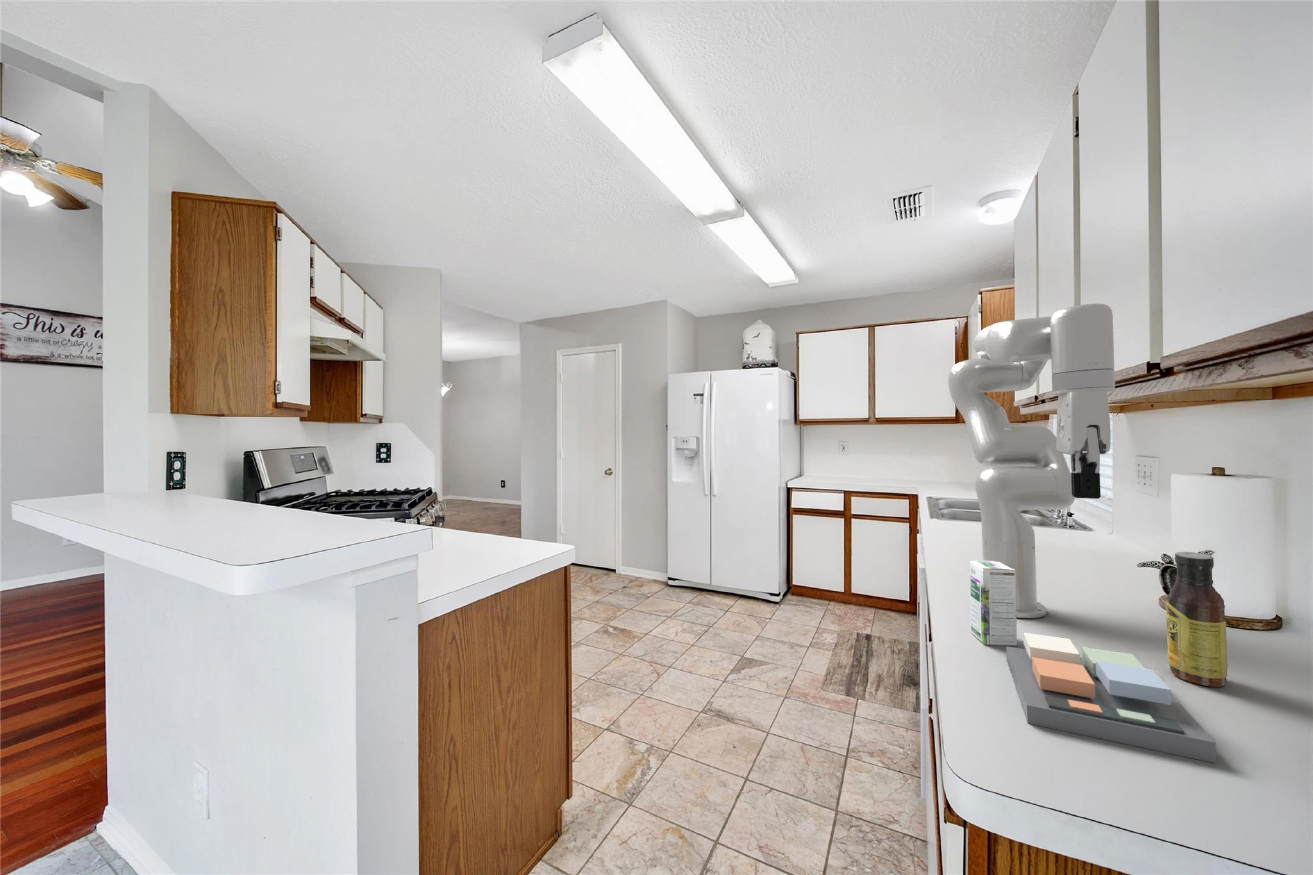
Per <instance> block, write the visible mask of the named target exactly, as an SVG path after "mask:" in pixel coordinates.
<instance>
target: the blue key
mask: <svg viewBox="0 0 1313 875" xmlns="http://www.w3.org/2000/svg"><path fill="white" fill-rule="evenodd" d="M1147 668H1148V667H1144V668H1140V667H1134V666H1127V665H1121V664H1114V663H1108V662H1101V661H1096V675H1097V676H1098V678H1099V679H1100V681H1101V682H1102V684H1103V685H1104V687H1105V688H1106V690H1107V691H1108V692H1109V694H1112V695H1117V696H1123V697H1129V698H1134V699H1140V700H1145V701H1151V702H1157V703H1162V704H1168V705H1171V694H1172V690H1171V689H1170V687H1169V686H1168V685H1167V684H1166V683H1165V682H1164V681H1163V680H1162V679H1161V677H1160V676H1159V675H1158V674H1157V673H1156V672H1155V671H1154V670H1153V669H1152V668H1149V669H1147Z"/></svg>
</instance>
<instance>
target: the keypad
mask: <svg viewBox="0 0 1313 875" xmlns="http://www.w3.org/2000/svg"><path fill="white" fill-rule="evenodd" d="M1005 646H1006V648H1005V649H1006V650H1005V651H1006V652H1005V653H1006V663H1007V666H1008V669H1009V672H1010V674H1011V677H1012V680H1013V684H1014V687H1015V689H1016V693H1017V695H1018V698H1019V703H1020V704H1021V707H1022V710H1023V713H1024V714H1023V715H1024V716H1025V720H1026V722H1027V724H1031V725H1035V726H1040V727H1045V728H1048V729H1049V728H1050V729H1054V730H1058V731H1062V732H1063V731H1064V732H1067V733H1073V734H1078V735H1081V736H1087V737H1092V738H1095V739H1096V738H1097V739H1100V738H1101V740H1105V741H1110V742H1115V743H1120V744H1124V745H1129V746H1133V747H1139V748H1141V749H1142V748H1143V747H1144V748H1143V749H1148V750H1151V749H1152V750H1153V751H1156V752H1160V753H1161V752H1162V753H1167V754H1170V755H1176V756H1181V757H1185V758H1189V759H1195V760H1200V761H1204V762H1209V763H1212V764H1216V763H1217V759H1216V758H1217V752H1216V749H1217V747H1216V742H1215V740H1214V739H1213V738H1212V737H1211V736H1210V734H1208V732H1207V731H1206V730H1205V729H1204V728H1203V727H1202V726H1201V725H1200V723H1199V722H1197V720H1196V719H1195V718H1194V717H1193V716H1192V715H1191V713H1189V712H1188V710H1187V709H1186V708H1185V707H1184V706H1183V704H1182V703H1180V701H1179V700H1178V699H1177V698H1176V697H1175V696H1174V695H1173V694H1172V693H1171V705H1168V704H1162V703H1157V702H1151V701H1145V700H1140V699H1134V698H1129V697H1123V696H1117V695H1112V694H1109V692H1108V691H1107V690H1106V688H1105V687H1104V685H1103V684H1102V682H1101V681H1100V679H1099V678H1098V677H1095V676H1093V675H1092V674H1091V672H1090V670H1089V669H1088V667H1087V666H1086V664H1085V663H1084V661H1083V660H1082V657H1080V665H1083V667H1084V668H1085V670H1086V671H1087V673H1088V674H1089V676H1090V678H1091V679H1092V681H1093V682H1094V684H1095V699H1094V698H1089V697H1083V696H1078V695H1072V694H1067V693H1062V692H1056V691H1051V690H1045V689H1040V687H1039V684H1038V682H1037V679H1036V677H1035V675H1034V672H1033V670H1032V660H1030V657H1029V655H1028V653H1027V650H1026V648H1021V647H1020V648H1018V647H1013V646H1008V645H1005ZM1146 668H1147V669H1150V668H1149V667H1146Z"/></svg>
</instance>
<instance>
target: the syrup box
mask: <svg viewBox="0 0 1313 875" xmlns="http://www.w3.org/2000/svg"><path fill="white" fill-rule="evenodd" d="M969 579H970V581H969V584H970V585H969V588H970V589H969V591H970V592H969V595H970V596H969V598H970V599H969V601H970V602H969V603H970V608H969V609H970V633H971V635H974V637H975V638H977V639H978V640H979V641H980V642H981V643H982V644H984V646H985V645H987V646H1010V647H1013V646H1014V647H1015V646H1018V640H1017V639H1018V635H1017V634H1018V632H1017V631H1018V628H1017V626H1018V625H1017V624H1018V623H1017V622H1018V621H1017V617H1016V571H1015V569H1011V568H1009V567H1008V566H1006V565H1004V564H1002V563H1000V562H995V561H983V560H971V561H969Z"/></svg>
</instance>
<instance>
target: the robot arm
mask: <svg viewBox="0 0 1313 875" xmlns="http://www.w3.org/2000/svg"><path fill="white" fill-rule="evenodd" d="M1113 315H1114V314H1113V309H1112V308H1111V306H1109V305H1107V304H1104V303H1087V304H1079V305H1073V306H1070V307H1065V308H1062V309H1060V310H1057V311H1055V312H1054V313H1053V314H1052V316H1051V315H1050V316H1040V317H1030V318H1021V319H1010V320H1005V321H1001V322H996V323H993V324H991V325H988V326H986V327H984V328H983V329H981V330H980V331H979V332H978V334H976V335H975V338H974V341H973V343H974V344H973V348H974V350H975V352H976V353H977V355H978V356H979V357H980V358H979V357H978V358H972V359H966V360H963V361H959V362H957V363H956V364H954V365H953V366H952V367H951V368H950V370H949V372H948V376H947V377H948V379H947V380H948V381H947V382H948V389H949V393H950V394H949V395H950V396H951V398H952V402H953V403H954V405H955V407H956V408H957V410H958V412H959V413H960V414H961V416H962V418H963V420H964V422H965V425H966V429H967V434H968V437H969V441H970V444H971V448H972V451H973V455H974V457H975V458H976V461H977V462H978V463H979V464H980V465H981V466H984V467H989V468H986V469H983V470H982V471H980V472H979V473H978V474H977V475H976V478H975V484H974V485H975V486H974V487H975V492H976V497H977V500H978V504H979V505H978V506H979V513H980V521H981V536H982V537H981V538H982V542H981V543H982V561H995V562H1000V563H1002V564H1004V565H1006V566H1008V567H1009V568H1011V569H1015V571H1016V618H1019V619H1037V618H1041V617H1042V618H1043V617H1045V616H1046V614H1047V608H1046V606H1045V604H1044V605H1043V603H1041V602H1039V601H1038V598H1037V597H1038V596H1037V591H1038V590H1037V567H1036V566H1037V564H1036V534H1035V531H1034V528H1033V526H1032V524H1030V522H1029V521H1028V520H1027V519H1026V518H1025V517H1024V516H1023V515H1022V514H1021V511H1043V510H1044V511H1059V510H1065V509H1067V508H1070V507H1071V506H1072V505H1073V504H1074V502H1075V499H1093V500H1094V499H1095V500H1097V499H1100V498H1101V473H1100V472H1101V471H1100V470H1101V469H1100V468H1101V455H1105V454H1107V453H1109V452H1110V449H1111V440H1112V439H1111V417H1110V406H1109V404H1110V402H1109V397H1108V396H1109V395H1108V392H1114V391H1116V387H1115V386H1116V381H1115V380H1116V377H1115V348H1114V347H1115V345H1114V344H1115V343H1114V341H1115V340H1114V316H1113ZM1049 360H1050V361H1051V362H1050V364H1051V387H1052V388H1051V390H1052V395H1053V396H1058V400H1057V408H1056V410H1057V411H1056V435H1055V433H1054V432H1053V431H1051V429H1049V428H1047V427H1045V426H1042V425H1041V426H1040V425H1013V424H1011V422H1010V420H1009V417H1008V414H1007V412H1006V410H1005V409H1004V407H1003V406H1002V405H1000V404H999V403H998V402H997V401H995V399H993V398H991V397H989V396H987V395H986V394H985V393H999V392H1018V391H1024V390H1028V389H1029V388H1031V387H1033V386H1034V384H1035V383H1036V381H1037V380H1038V379H1039V376H1040V375H1041V373H1042V371H1043V369H1044V368H1045V366H1046V364H1047V363H1048V361H1049ZM1065 455H1070V456H1069V457H1070V467H1071V468H1069V466H1068V462H1067V460H1066V457H1065ZM1070 469H1071V471H1070Z"/></svg>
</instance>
